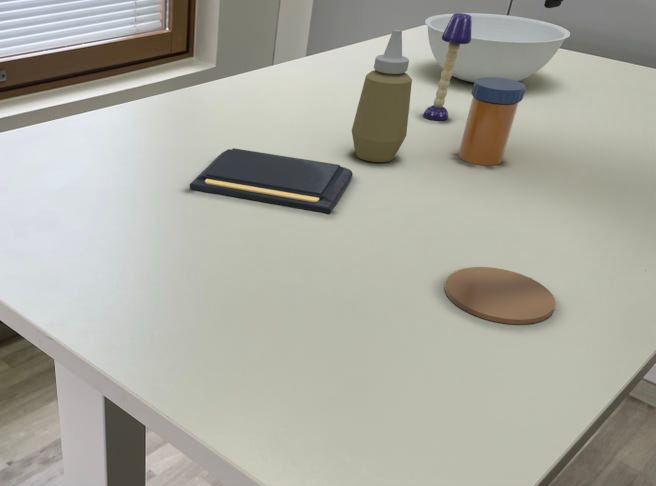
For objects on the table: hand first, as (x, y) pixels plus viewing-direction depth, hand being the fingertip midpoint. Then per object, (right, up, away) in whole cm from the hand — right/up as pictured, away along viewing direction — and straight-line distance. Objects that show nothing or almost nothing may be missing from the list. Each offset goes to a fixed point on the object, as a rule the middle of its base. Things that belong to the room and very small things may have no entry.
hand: (522, 1), depth 98 cm
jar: (0, -18, +13) cm, 22 cm away
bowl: (+16, +9, +51) cm, 54 cm away
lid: (0, -9, +7) cm, 11 cm away
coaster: (-13, -42, -21) cm, 49 cm away
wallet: (-34, -24, +4) cm, 42 cm away
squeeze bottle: (-17, -18, +13) cm, 28 cm away
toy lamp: (-1, -6, +29) cm, 30 cm away
